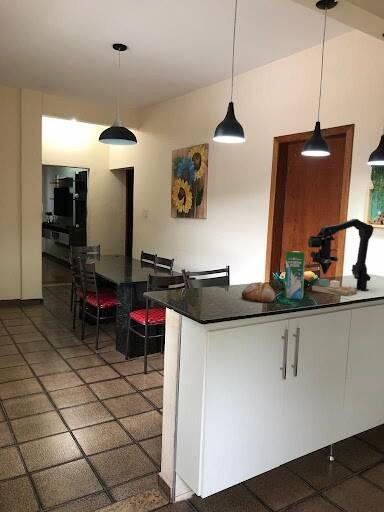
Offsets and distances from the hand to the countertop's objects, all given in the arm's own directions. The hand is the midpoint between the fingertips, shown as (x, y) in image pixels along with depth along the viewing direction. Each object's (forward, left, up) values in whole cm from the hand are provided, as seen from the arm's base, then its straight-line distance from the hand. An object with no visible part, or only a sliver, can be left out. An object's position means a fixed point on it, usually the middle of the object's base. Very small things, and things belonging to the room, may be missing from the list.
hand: (324, 273), depth 243 cm
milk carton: (+33, +2, -10) cm, 35 cm away
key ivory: (0, +7, -7) cm, 10 cm away
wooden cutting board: (0, +7, -10) cm, 12 cm away
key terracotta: (0, +14, -9) cm, 17 cm away
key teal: (0, 0, -7) cm, 7 cm away
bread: (+53, -6, -10) cm, 54 cm away
